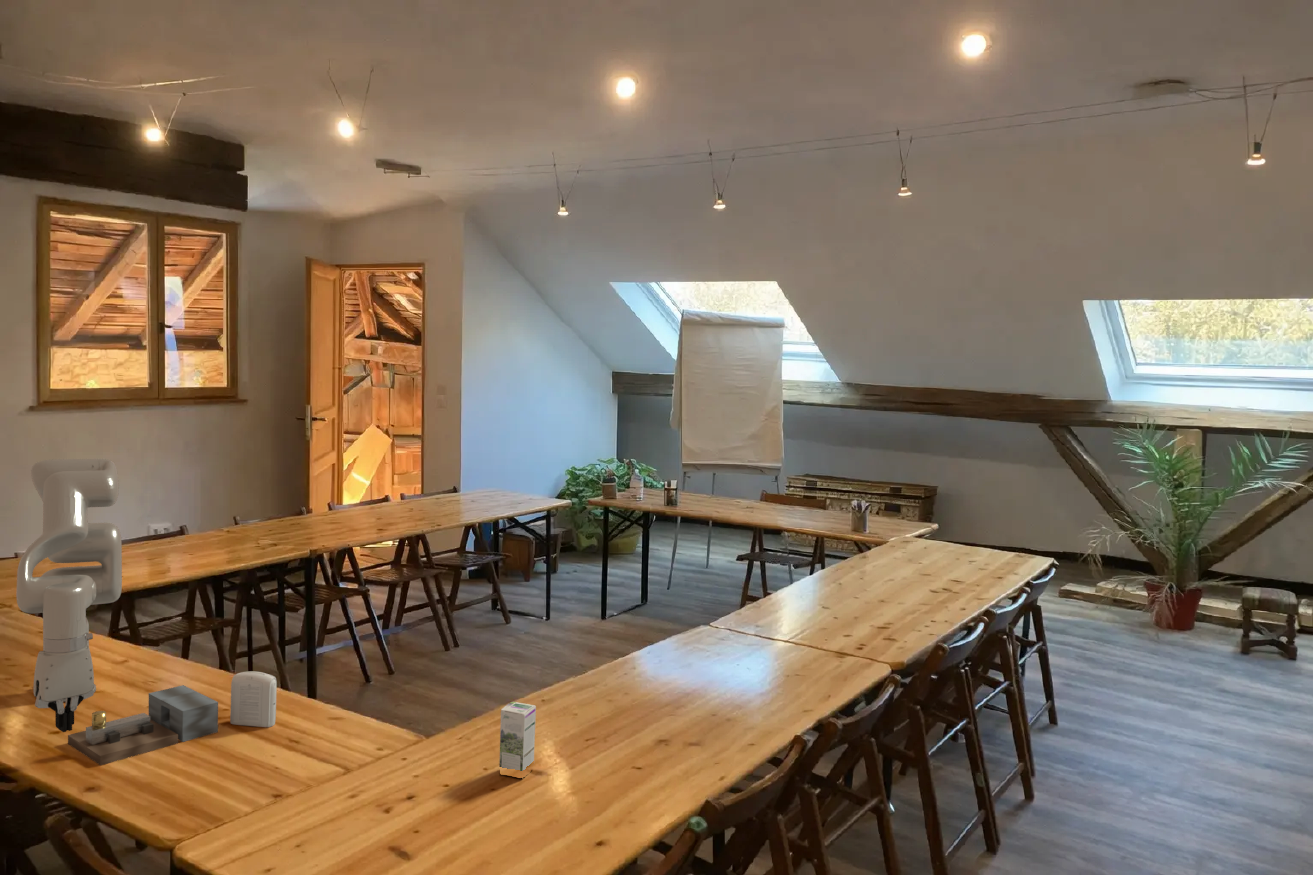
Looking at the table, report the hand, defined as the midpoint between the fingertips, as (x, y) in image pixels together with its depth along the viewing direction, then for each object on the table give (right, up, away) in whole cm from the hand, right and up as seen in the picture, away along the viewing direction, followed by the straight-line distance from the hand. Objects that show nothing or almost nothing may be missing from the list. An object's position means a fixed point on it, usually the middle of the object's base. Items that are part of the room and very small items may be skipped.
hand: (64, 729), depth 201 cm
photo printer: (+29, -6, +24) cm, 38 cm away
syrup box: (+93, -11, +4) cm, 94 cm away
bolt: (+6, -4, +9) cm, 11 cm away
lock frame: (+10, -6, +14) cm, 18 cm away
